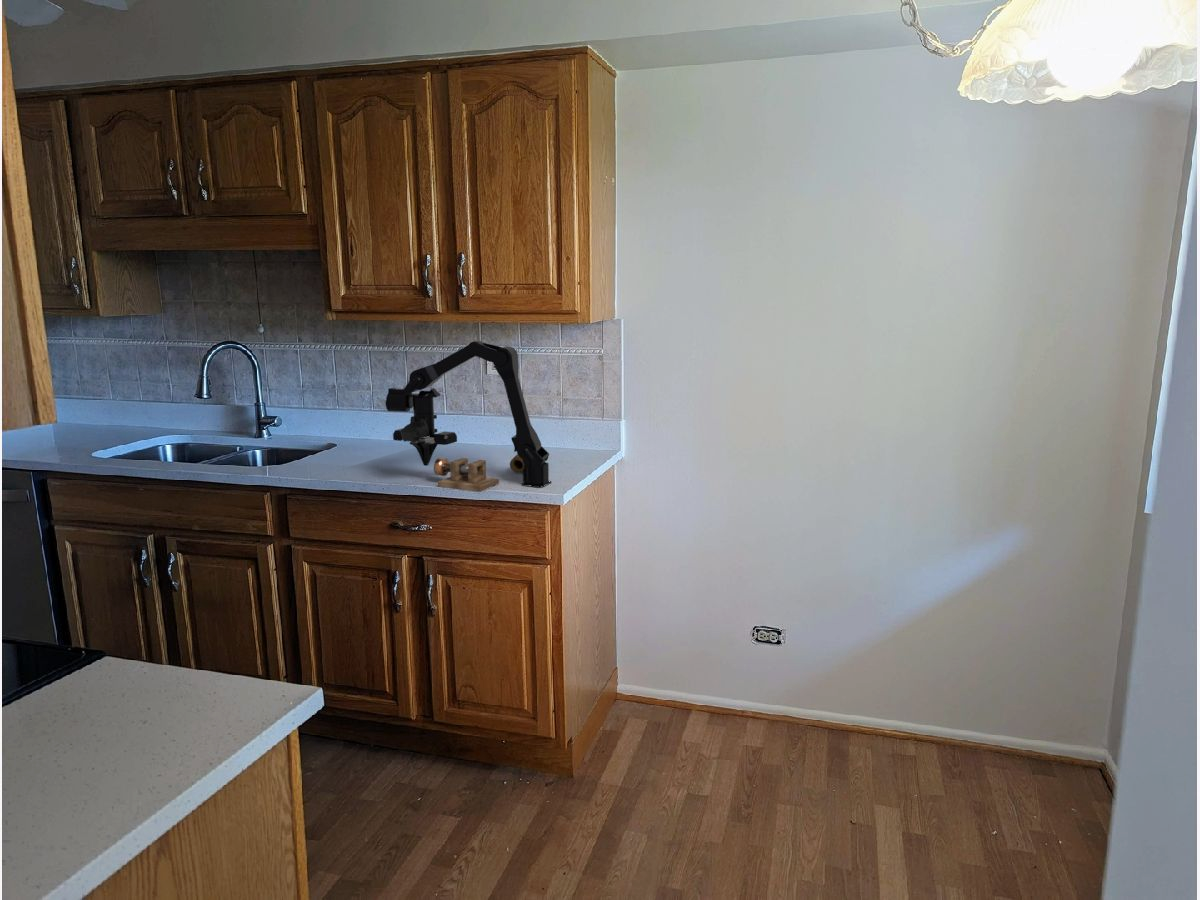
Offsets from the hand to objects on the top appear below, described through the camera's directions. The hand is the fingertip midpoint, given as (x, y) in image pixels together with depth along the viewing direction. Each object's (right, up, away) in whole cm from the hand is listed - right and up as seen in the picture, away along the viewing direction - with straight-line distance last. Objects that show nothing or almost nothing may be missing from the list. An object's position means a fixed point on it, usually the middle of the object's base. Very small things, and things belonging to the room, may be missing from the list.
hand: (426, 465), depth 248 cm
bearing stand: (+13, -6, -5) cm, 15 cm away
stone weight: (+28, -2, +15) cm, 32 cm away
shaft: (+10, -3, -4) cm, 11 cm away
